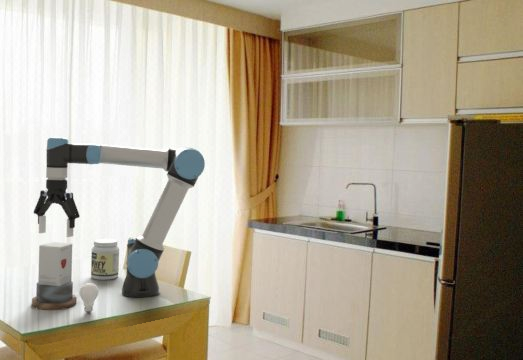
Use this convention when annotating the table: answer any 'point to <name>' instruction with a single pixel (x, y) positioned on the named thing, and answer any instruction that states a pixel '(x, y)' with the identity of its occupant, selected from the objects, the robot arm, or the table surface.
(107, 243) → the supplement tub
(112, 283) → the table surface
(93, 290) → the light bulb
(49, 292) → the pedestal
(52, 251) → the supplement box
